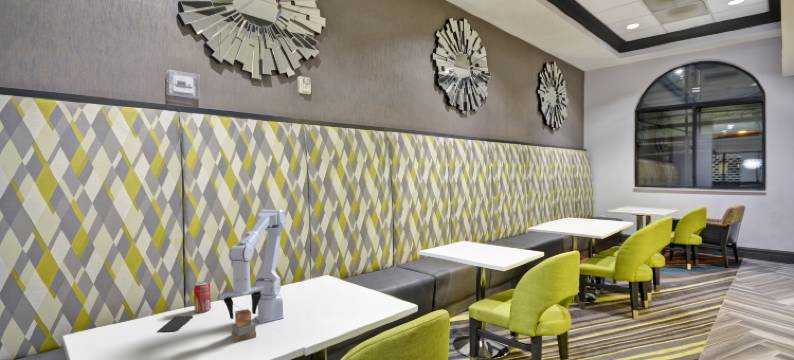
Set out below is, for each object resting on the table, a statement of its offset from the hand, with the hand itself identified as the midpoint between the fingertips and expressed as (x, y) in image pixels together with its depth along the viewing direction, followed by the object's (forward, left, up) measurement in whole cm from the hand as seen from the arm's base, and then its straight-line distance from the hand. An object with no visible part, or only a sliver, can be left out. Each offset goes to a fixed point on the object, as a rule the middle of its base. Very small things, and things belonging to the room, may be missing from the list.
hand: (242, 315), depth 143 cm
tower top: (0, 0, -6) cm, 6 cm away
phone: (+19, -28, -8) cm, 35 cm away
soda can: (+8, -38, -8) cm, 40 cm away
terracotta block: (0, 0, -3) cm, 3 cm away
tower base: (0, 0, -8) cm, 8 cm away
